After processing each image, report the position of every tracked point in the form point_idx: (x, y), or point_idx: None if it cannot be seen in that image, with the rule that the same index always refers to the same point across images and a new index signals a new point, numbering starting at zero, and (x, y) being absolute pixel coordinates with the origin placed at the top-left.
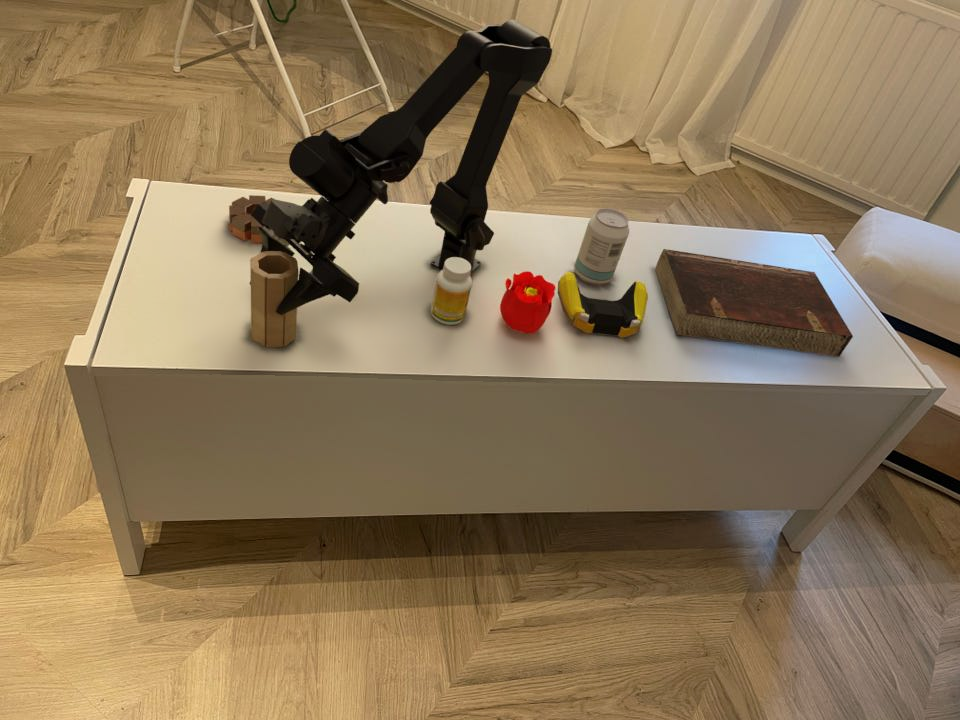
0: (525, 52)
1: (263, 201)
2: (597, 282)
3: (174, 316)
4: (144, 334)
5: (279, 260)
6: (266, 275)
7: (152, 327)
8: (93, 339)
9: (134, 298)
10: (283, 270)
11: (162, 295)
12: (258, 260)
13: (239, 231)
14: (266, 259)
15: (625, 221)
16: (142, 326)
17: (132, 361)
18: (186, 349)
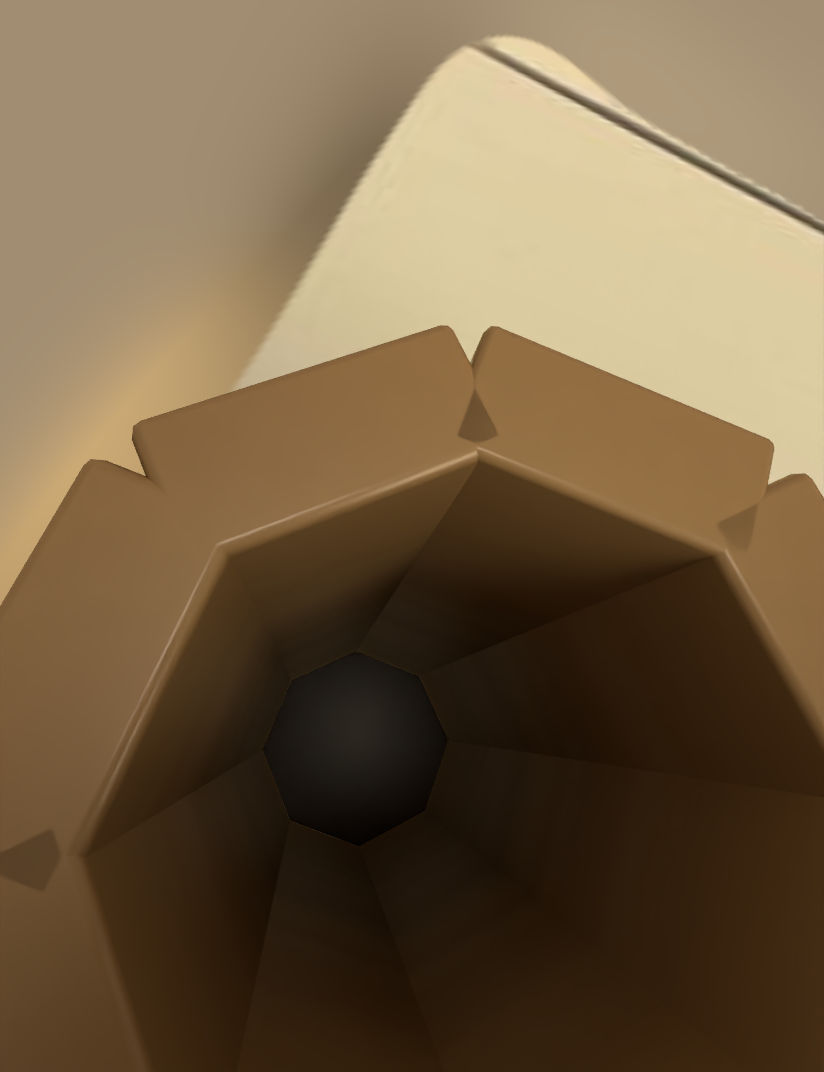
0: None
1: None
2: None
3: (637, 362)
4: (558, 226)
5: (721, 1042)
6: (189, 486)
7: (591, 265)
8: (584, 88)
9: (784, 279)
10: (556, 1016)
11: (785, 374)
12: (720, 562)
13: None
14: (774, 774)
15: None
16: (608, 238)
17: (417, 136)
18: (407, 318)
